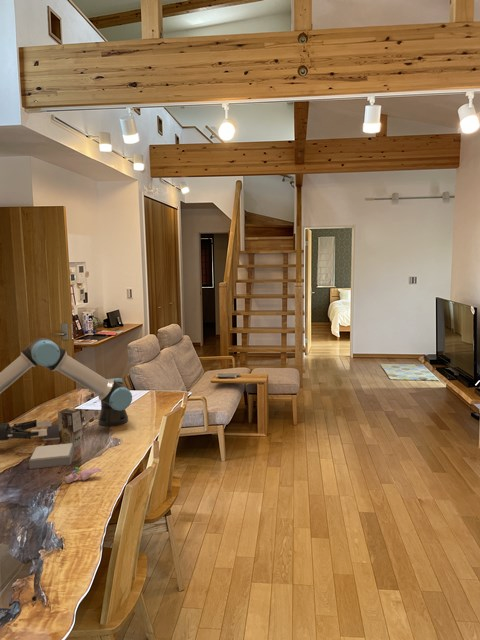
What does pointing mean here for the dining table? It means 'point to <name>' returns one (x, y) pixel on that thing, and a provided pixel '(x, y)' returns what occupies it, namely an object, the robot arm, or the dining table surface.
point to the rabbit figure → (83, 475)
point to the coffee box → (70, 426)
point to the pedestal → (51, 456)
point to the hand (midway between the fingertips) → (49, 427)
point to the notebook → (52, 433)
